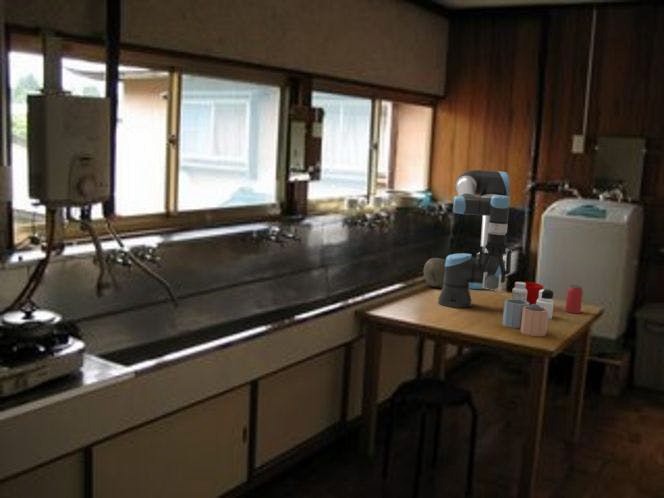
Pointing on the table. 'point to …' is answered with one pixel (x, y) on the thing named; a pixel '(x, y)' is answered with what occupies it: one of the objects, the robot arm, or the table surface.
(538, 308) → the charcoal ball
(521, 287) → the supplement bottle
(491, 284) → the charcoal ball
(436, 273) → the grey stone sphere
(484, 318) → the table surface
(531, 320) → the terracotta tube
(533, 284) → the ceramic cup
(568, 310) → the beer can
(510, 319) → the slate tube
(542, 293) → the medicine bottle
